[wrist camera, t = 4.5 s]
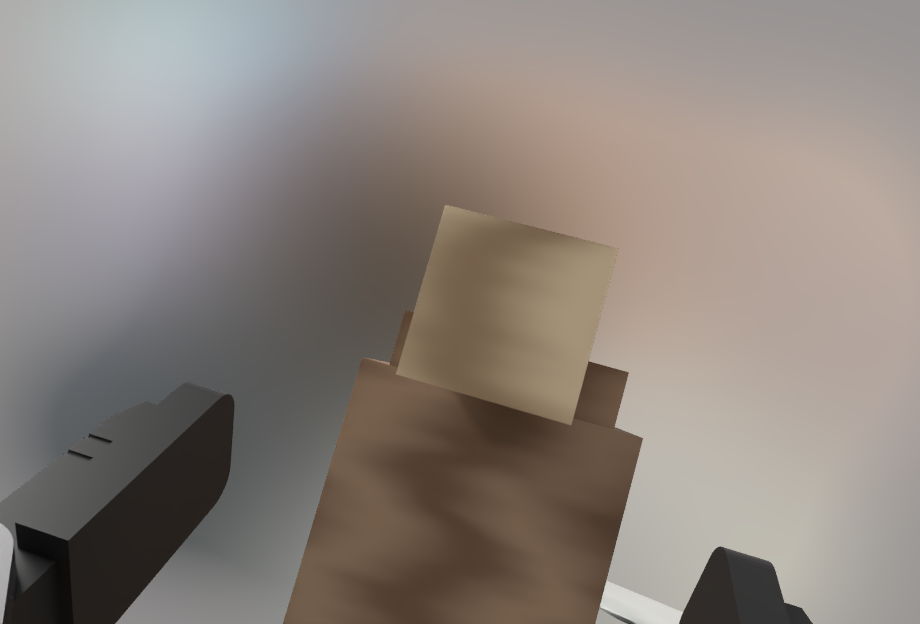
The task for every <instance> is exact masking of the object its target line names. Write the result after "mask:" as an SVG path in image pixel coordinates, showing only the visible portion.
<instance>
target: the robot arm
mask: <svg viewBox="0 0 920 624" xmlns="http://www.w3.org/2000/svg"><path fill="white" fill-rule="evenodd" d="M233 420H234V400H233V397H232V396H231V395H230V394H226V393H223V392H220V391H216V390H213V389H210V388H207V387H204V386H200V385H197V384H193V383H190V382H187V383H184V384H182V385H181V386H179V387H178V388H177V389H176V390H175V391H173V392H172V393H171V394H170V395H168V396H167V397H166V398H165V399H164V400H162V401H161V402H160V403H159V404H157V405H156V404H152V403H149V402H144V403H142V404H140V405H137V406H134V407H132V408H129V409H127V410H124V411H122V412H119V413H116V414H114V415H113V416H111V417H110V418H109V419H108V420H106V421H105V422H104V423H102V424H101V425H100V426H98V427H97V428H96V429H95V430H93V431H92V432H91V433H90V434H89V436H88V438H83V439H82V440H80V441H79V442H78V443H77V444H75V445H74V446H73V447H71V448H70V449H69V451H68V453H67V454H62V455H61V456H60V457H58V458H57V459H56V460H55V461H53V462H52V463H51V464H50V465H48V466H47V467H46V468H44V469H43V470H42V471H41V472H39V473H38V474H36V475H35V476H34V477H33V478H31V479H30V480H29V481H27V482H26V483H25V484H24V485H22V486H21V487H20V488H18V489H17V490H16V491H14V492H13V493H12V494H11V495H9V496H8V497H7V498H5V499H4V500H3V501H2V502H0V624H115V623H116V622H117V621H118V620H119V618H120V617H121V616H122V615H123V614H124V612H125V611H126V610H127V609H128V607H130V605H131V604H132V603H133V602H134V601H135V599H136V598H137V597H138V596H139V595H140V593H141V592H142V591H143V590H144V589H145V587H146V586H147V585H148V584H149V583H150V582H151V580H152V579H153V578H154V577H155V575H156V574H157V573H158V572H159V571H160V570H161V568H162V567H163V566H164V565H165V563H167V561H168V560H169V559H170V558H171V557H172V555H173V554H174V553H175V552H176V551H177V549H178V548H179V547H180V546H181V545H182V543H183V542H184V541H185V540H186V539H187V538H188V536H189V535H190V534H191V533H192V532H193V530H194V529H195V528H196V527H197V526H198V524H199V523H200V522H201V521H202V519H203V518H204V517H205V516H206V515H207V514H208V512H209V511H210V510H211V509H212V508H213V506H214V505H215V504H216V503H217V501H218V500H219V498H220V496H221V494H222V492H223V490H224V488H225V485H226V483H227V480H228V476H229V472H230V463H231V449H232V434H233ZM679 624H813V623H812V622H811V621H810V619H809V618H808V616H807V615H806V614H805V612H804V611H803V609H802V608H799V607H797V606H793V605H790V604H787V603H784V600H783V596H782V593H781V589H780V586H779V582H778V579H777V575H776V572H775V569H774V567H773V565H772V563H771V562H769V561H766V560H763V559H760V558H756V557H753V556H750V555H747V554H743V553H740V552H736V551H733V550H730V549H727V548H724V547H718V548H716V549H715V550H714V552H713V553H712V555H711V557H710V558H709V561H708V563H707V565H706V567H705V569H704V571H703V573H702V575H701V577H700V579H699V581H698V583H697V585H696V587H695V589H694V591H693V593H692V596H691V598H690V600H689V602H688V604H687V606H686V608H685V610H684V612H683V614H682V617H681V619H680V623H679Z"/></svg>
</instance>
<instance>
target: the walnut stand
mask: <svg viewBox="0 0 920 624" xmlns="http://www.w3.org/2000/svg"><path fill="white" fill-rule="evenodd" d="M413 314H414V313H413V312H410V311H406V310H405V313H404V317H403V320H402V323H401V327H400V331H399V334H398V337H397V340H396V344H395V347H394V351H393V354H392V358H391V361H390V363H388V362H383V361H378V360H373V359H369V358H363V357H362V360H361V364H360V367H359V370H358V374H357V377H356V380H355V384H354V387H353V390H352V394H351V397H350V400H349V404H348V407H347V410H346V414H345V417H344V421H343V424H342V427H341V431H340V434H339V437H338V441H337V444H336V447H335V451H334V454H333V457H332V461H331V464H330V468H329V471H328V475H327V478H326V481H325V484H324V488H323V491H322V494H321V498H320V501H319V504H318V508H317V511H316V515H315V518H314V521H313V525H312V528H311V532H310V535H309V538H308V541H307V545H306V548H305V552H304V555H303V558H302V562H301V565H300V568H299V572H298V575H297V578H296V582H295V585H294V588H293V592H292V595H291V599H290V602H289V605H288V609H287V612H286V615H285V619H284V622H283V624H595V621H596V618H597V614H598V610H599V607H600V603H601V599H602V595H603V591H604V587H605V583H606V579H607V576H608V572H609V568H610V564H611V560H612V556H613V552H614V548H615V545H616V541H617V537H618V533H619V529H620V525H621V521H622V518H623V514H624V510H625V506H626V502H627V498H628V494H629V490H630V487H631V483H632V479H633V475H634V471H635V467H636V463H637V459H638V456H639V452H640V447H641V444H642V440H643V438H641V437H638V436H636V435H633V434H631V433H628V432H625V431H623V430H621V429H618V428H615V423H616V419H617V415H618V411H619V408H620V404H621V400H622V396H623V392H624V389H625V385H626V381H627V377H628V372H625V371H621V370H618V369H614V368H610V367H607V366H603V365H600V364H596V363H592V362H589V361H588V365H587V369H586V372H585V376H584V380H583V384H582V387H581V391H580V395H579V399H578V402H577V406H576V410H575V414H574V417H573V421H572V425H569V424H565V423H562V422H558V421H555V420H551V419H548V418H545V417H541V416H538V415H534V414H531V413H527V412H524V411H520V410H517V409H514V408H510V407H507V406H503V405H500V404H496V403H493V402H490V401H486V400H483V399H479V398H476V397H472V396H469V395H466V394H462V393H459V392H455V391H452V390H448V389H445V388H441V387H438V386H435V385H431V384H428V383H424V382H421V381H417V380H414V379H411V378H407V377H404V376H400V375H397V374H396V372H397V369H398V365H399V362H400V358H401V355H402V351H403V348H404V345H405V341H406V338H407V334H408V331H409V328H410V324H411V321H412V317H413Z"/></svg>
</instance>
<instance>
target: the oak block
mask: <svg viewBox="0 0 920 624" xmlns="http://www.w3.org/2000/svg"><path fill="white" fill-rule="evenodd" d="M617 253H618V248H615V247H611V246H607V245H603V244H599V243H595V242H591V241H587V240H583V239H579V238H575V237H572V236H567V235H564V234H560V233H555V232H551V231H547V230H544V229H540V228H536V227H532V226H528V225H524V224H520V223H516V222H512V221H508V220H504V219H500V218H496V217H492V216H488V215H484V214H480V213H476V212H472V211H468V210H464V209H460V208H456V207H452V206H448V205H445V208H444V212H443V215H442V218H441V222H440V225H439V228H438V232H437V235H436V239H435V242H434V246H433V249H432V252H431V256H430V259H429V263H428V267H427V269H426V273H425V277H424V280H423V283H422V287H421V290H420V294H419V297H418V300H417V304H416V307H415V311H414V314H413V317H412V321H411V324H410V328H409V331H408V334H407V338H406V341H405V345H404V348H403V351H402V355H401V358H400V362H399V365H398V369H397V372H396V374H397V375H400V376H404V377H407V378H411V379H414V380H417V381H421V382H424V383H428V384H431V385H435V386H438V387H441V388H445V389H448V390H452V391H455V392H459V393H462V394H466V395H469V396H472V397H476V398H479V399H483V400H486V401H490V402H493V403H496V404H500V405H503V406H507V407H510V408H514V409H517V410H520V411H524V412H527V413H531V414H534V415H538V416H541V417H545V418H548V419H551V420H555V421H558V422H562V423H565V424H569V425H572V421H573V417H574V414H575V410H576V406H577V402H578V399H579V395H580V391H581V387H582V384H583V380H584V376H585V372H586V369H587V365H588V361H589V358H590V353H591V350H592V346H593V343H594V339H595V335H596V331H597V328H598V324H599V320H600V316H601V312H602V309H603V305H604V302H605V297H606V294H607V290H608V287H609V283H610V279H611V275H612V272H613V268H614V264H615V261H616V257H617Z"/></svg>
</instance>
